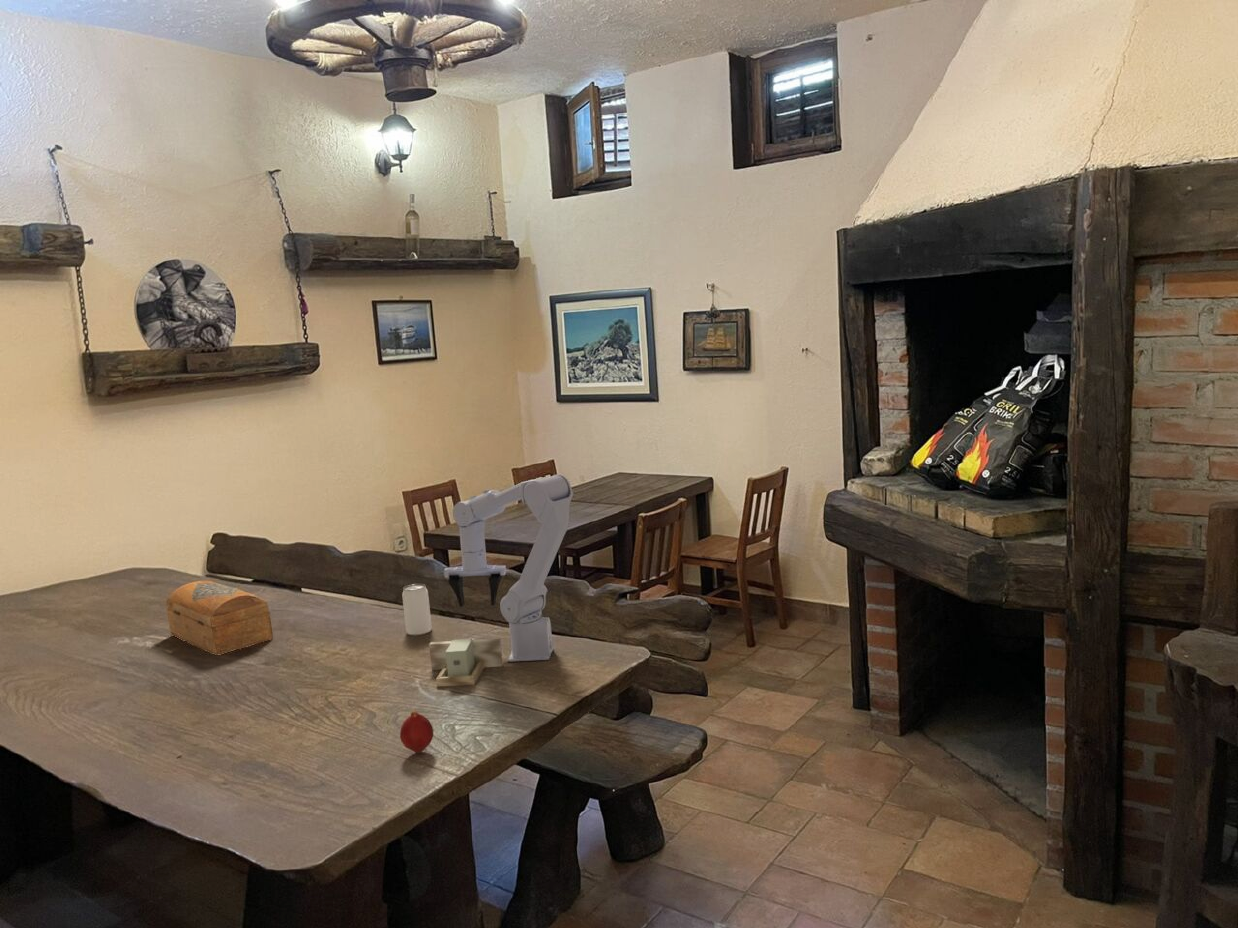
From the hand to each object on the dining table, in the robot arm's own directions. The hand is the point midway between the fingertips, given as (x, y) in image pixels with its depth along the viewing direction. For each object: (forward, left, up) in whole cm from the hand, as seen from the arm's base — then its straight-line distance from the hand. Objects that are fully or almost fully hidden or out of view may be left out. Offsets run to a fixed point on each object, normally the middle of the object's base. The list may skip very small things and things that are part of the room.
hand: (477, 604), depth 216 cm
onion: (-1, +56, -11) cm, 57 cm away
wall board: (0, +18, -10) cm, 21 cm away
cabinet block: (+1, +18, -11) cm, 21 cm away
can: (+19, -14, -11) cm, 26 cm away
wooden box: (+74, -18, -11) cm, 77 cm away
